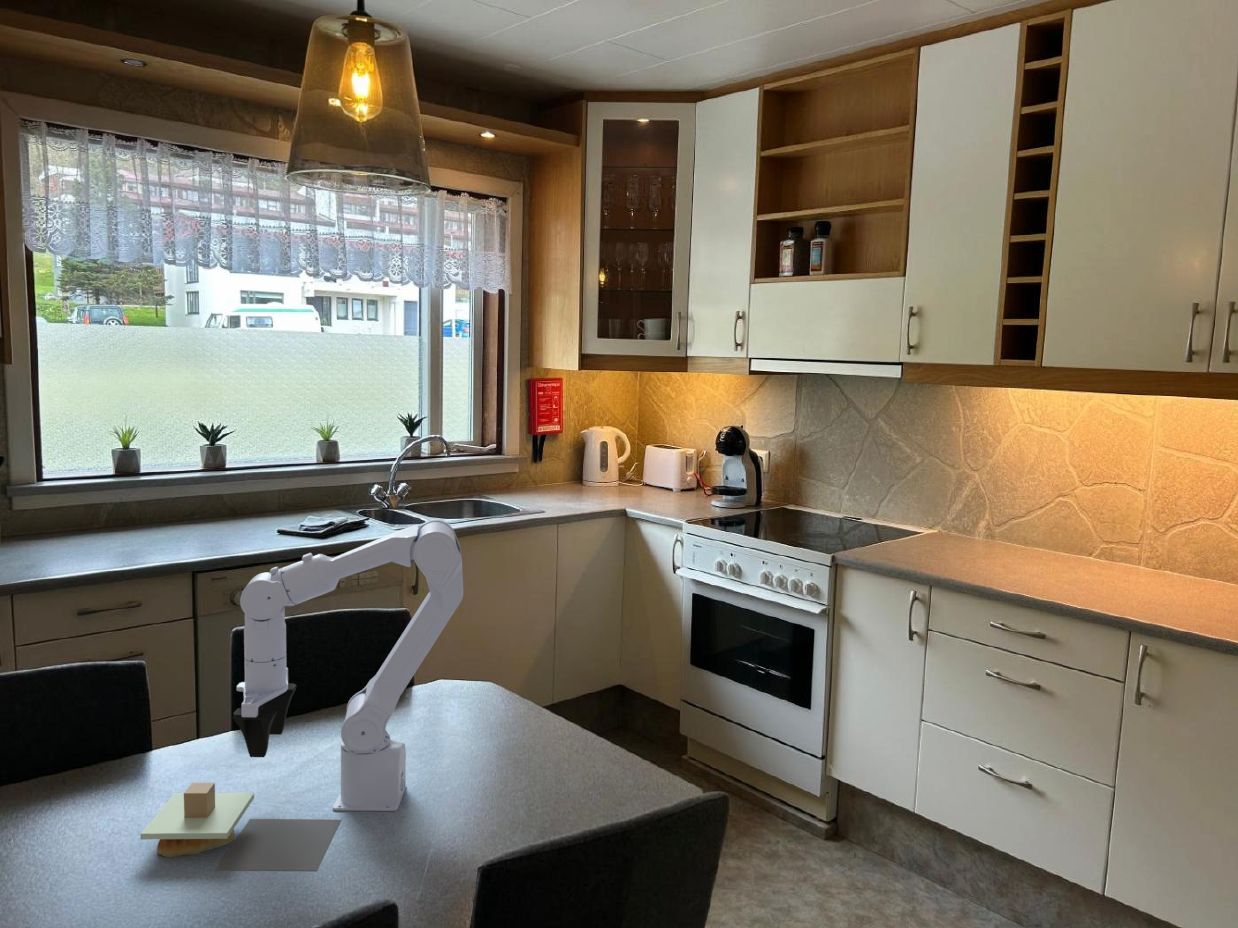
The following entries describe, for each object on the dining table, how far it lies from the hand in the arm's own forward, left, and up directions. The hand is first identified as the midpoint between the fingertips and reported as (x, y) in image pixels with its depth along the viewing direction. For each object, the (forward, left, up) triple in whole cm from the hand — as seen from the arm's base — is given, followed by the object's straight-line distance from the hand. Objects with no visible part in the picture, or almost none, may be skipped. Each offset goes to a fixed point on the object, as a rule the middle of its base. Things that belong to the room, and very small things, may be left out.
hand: (266, 744), depth 135 cm
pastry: (+6, +11, -10) cm, 16 cm away
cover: (+6, +10, -6) cm, 13 cm away
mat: (-5, +11, -9) cm, 15 cm away
